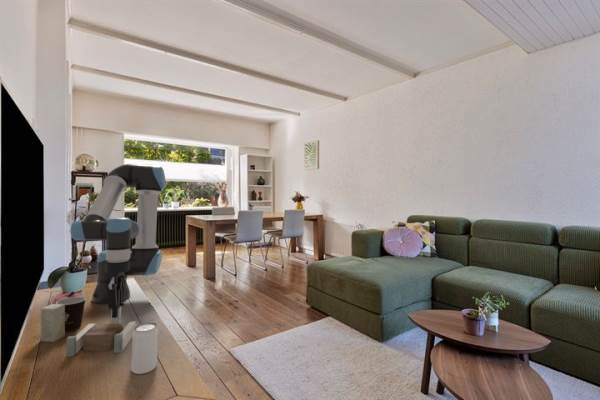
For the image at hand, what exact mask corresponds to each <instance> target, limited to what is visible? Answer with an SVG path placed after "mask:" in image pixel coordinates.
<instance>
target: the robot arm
mask: <svg viewBox="0 0 600 400" xmlns="http://www.w3.org/2000/svg"><path fill="white" fill-rule="evenodd" d="M102 185H103V186H102V188H101V190H100V191H99V192H98V195H97V196H96V198H95V200H94V201H93V203H92V205H91V207H90V208H89V211H88V212H87V214H86V215H85V217H84V219H83V220H82V219H80V220H75V221H73V222H72V223H71V225H70V229H69V232H70V236H71V238H72V239H73V240H75V241H105V244H106V245H105V250H102V251H100V253H98V255H97V268H96V269H97V272H96V273H97V274H96V275H97V276H96V277H97V279H96V281H97V282H96V285H95V288H94V290H93V293H92V295H91V302H92V303H96V304H108V305H107V306H108V307H107V308H108V310H109V309H110V310H111V311H110V312H111V315H110V316H111V317H110V324H122V307H123V306H125V303H124V302H125V301H126V300H127V299H129V297H130V296H131V290H130V286H129V285H128V282H127V279H128V276H129V277H132V276H144V277H145V276H153V275H156V274H157V273H158V272H159V270H160V268H161V267H160V266H161V263H162V259H163V251H162V250H161V249H160V250H159V245H157V243H156V241H157V220H158V219H157V217H158V203H159V201H158V200H159V196H160V194H162V191H163V190H164V189H166V186H167V185H166V177H165V171H164V168H163V167H162V166H161V165H154V164H136V163H135V164H134V163H126V164H122V165H120V166H117V167H116V168H113V169H112V170H111V171H110V172H109V173H108V174H107V175H106V176H105V177H104V179H103V183H102ZM129 188H133V189H134V188H135V190H134V192H136V194H138V201H137V216H136V220H137V221H135V220H132V219H130V218H129V217H110V216H111V214H112V213H113V210H114V208H115V206H116V205H117V202H118V200H119V199H120V196H121V194H122V193H123V192H125V191H126V190H127V189H129ZM133 239H135V244H134V245H133V246H132V247H131V241H132V240H133Z"/></svg>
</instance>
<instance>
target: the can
mask: <svg viewBox="0 0 600 400" xmlns="http://www.w3.org/2000/svg"><path fill="white" fill-rule="evenodd" d="M134 329H135V330H134V332H133V336H132V339H131V341H132V343H131V367H130V368H131V372H132V373H133V374H134V375H135V374H136V375H144V374H148V373H150V372H152V371H153V370H155V369H156V367H157V365H158V364H157V363H158V342H159V341H158V340H159V337H158V336H159V330H158V327H157V324H156V323H155V322H145V323H144V322H143V323H140V324H136V327H135V328H134Z"/></svg>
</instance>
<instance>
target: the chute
mask: <svg viewBox="0 0 600 400" xmlns="http://www.w3.org/2000/svg"><path fill="white" fill-rule="evenodd" d="M96 326H97V324H96V323H89V324H87V325H86V326H85V327H84V328H83V329H82V330H80V331H79V332H78V333H77V334H76V335H71V336H70V335H68V336H67V338H66V353H65V354H66V355H65V357H66V358H69V357H74V356H76V355H77V354H78V353H79V352H80V351H81V350H82V348H83V349H84V335H85V334H86V333H88V332H89V331H90V330H92V329H93V328H94V327H96ZM136 326H137V321H136V320H135V321H129V322H128V324H127V325H126V326H125V327H123V331H122V332H121V333H118V334H115V336H114V347H113V354H121V353H122V352H123V351H124V349H125V348H126V347H127V345H128V344H129V343H130V341H132V336H133V332H134V330H135V329H134V328H135V327H136Z"/></svg>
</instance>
